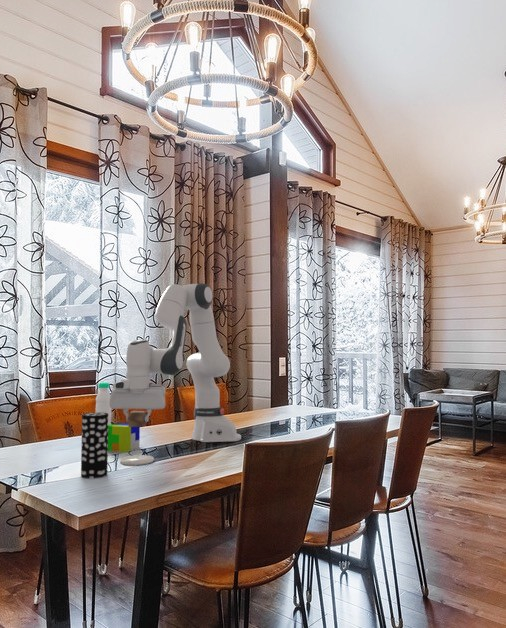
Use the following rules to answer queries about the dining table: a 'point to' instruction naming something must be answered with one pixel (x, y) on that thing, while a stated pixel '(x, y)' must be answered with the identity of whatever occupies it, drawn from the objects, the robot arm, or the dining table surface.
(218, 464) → the dining table surface
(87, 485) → the dining table surface
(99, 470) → the spotted tube
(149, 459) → the saucer
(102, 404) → the water bottle
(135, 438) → the puzzle toy
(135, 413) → the walnut block
